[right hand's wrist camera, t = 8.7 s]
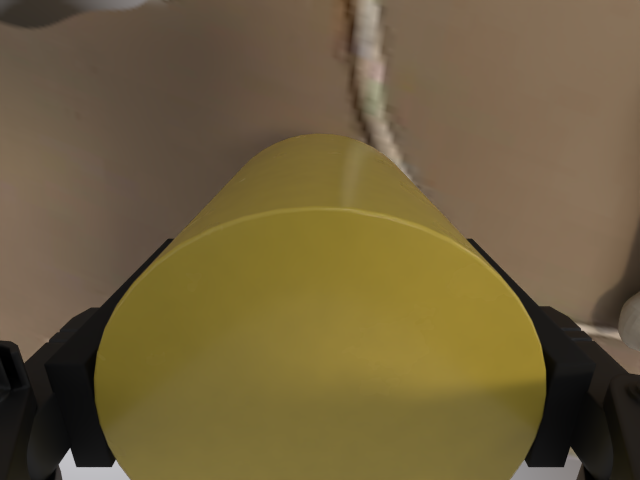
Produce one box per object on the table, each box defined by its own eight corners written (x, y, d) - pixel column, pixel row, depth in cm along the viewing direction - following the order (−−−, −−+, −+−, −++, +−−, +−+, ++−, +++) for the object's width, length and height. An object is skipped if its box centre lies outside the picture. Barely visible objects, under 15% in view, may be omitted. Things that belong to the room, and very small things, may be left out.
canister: (322, 354, 20) (325, 606, 10) (178, 239, 17) (6, 426, 8) (463, 234, 17) (637, 416, 8) (316, 83, 15) (310, 80, 6)
